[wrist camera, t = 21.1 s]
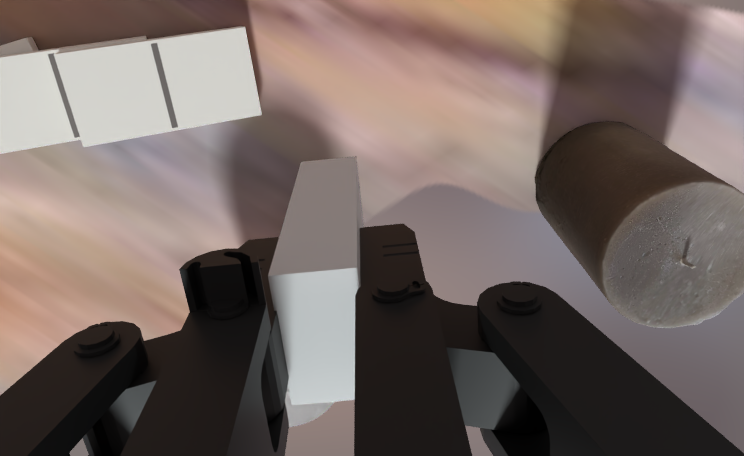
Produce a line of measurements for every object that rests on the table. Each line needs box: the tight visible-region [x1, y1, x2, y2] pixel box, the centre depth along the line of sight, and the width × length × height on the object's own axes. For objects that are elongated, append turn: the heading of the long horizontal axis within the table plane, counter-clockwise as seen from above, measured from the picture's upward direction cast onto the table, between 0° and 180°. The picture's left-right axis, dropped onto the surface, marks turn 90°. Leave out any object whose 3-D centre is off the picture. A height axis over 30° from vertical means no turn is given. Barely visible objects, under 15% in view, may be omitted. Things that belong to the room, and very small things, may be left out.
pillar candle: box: [535, 121, 744, 328], centre depth 40 cm, size 10×10×15 cm
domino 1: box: [0, 36, 147, 154], centre depth 40 cm, size 2×6×12 cm
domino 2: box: [54, 26, 262, 147], centre depth 40 cm, size 2×6×12 cm
